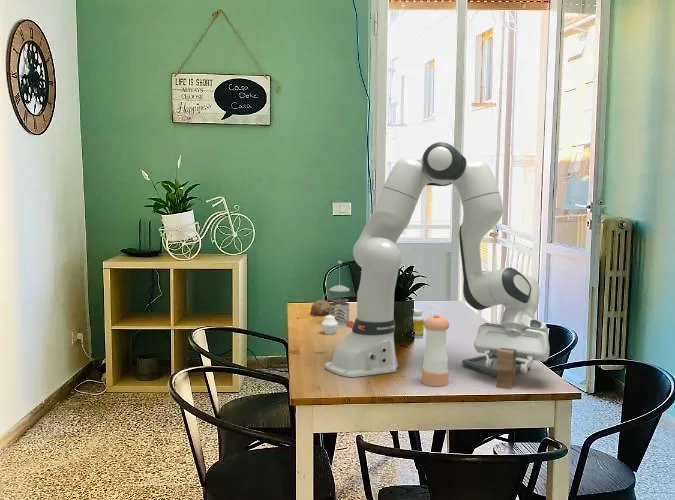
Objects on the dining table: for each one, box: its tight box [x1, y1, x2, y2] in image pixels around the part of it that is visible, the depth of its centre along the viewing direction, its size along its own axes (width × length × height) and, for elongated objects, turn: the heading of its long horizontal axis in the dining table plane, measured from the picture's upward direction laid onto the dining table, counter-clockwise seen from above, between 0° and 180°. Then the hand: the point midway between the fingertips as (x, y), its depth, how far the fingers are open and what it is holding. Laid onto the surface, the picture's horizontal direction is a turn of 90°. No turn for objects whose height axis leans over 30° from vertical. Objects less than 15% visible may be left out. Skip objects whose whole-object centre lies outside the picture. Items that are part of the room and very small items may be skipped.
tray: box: [461, 354, 531, 378], centre depth 196 cm, size 14×14×2 cm
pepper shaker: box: [421, 313, 450, 387], centre depth 180 cm, size 7×7×19 cm
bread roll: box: [309, 299, 336, 317], centre depth 272 cm, size 10×10×8 cm
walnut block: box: [496, 348, 517, 390], centre depth 178 cm, size 4×4×10 cm
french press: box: [321, 260, 350, 328], centre depth 252 cm, size 10×12×25 cm
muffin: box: [320, 315, 338, 335], centre depth 238 cm, size 6×6×7 cm
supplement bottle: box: [413, 308, 425, 339], centre depth 234 cm, size 5×5×10 cm
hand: (505, 368), depth 178 cm, fingers open, 8 cm apart
